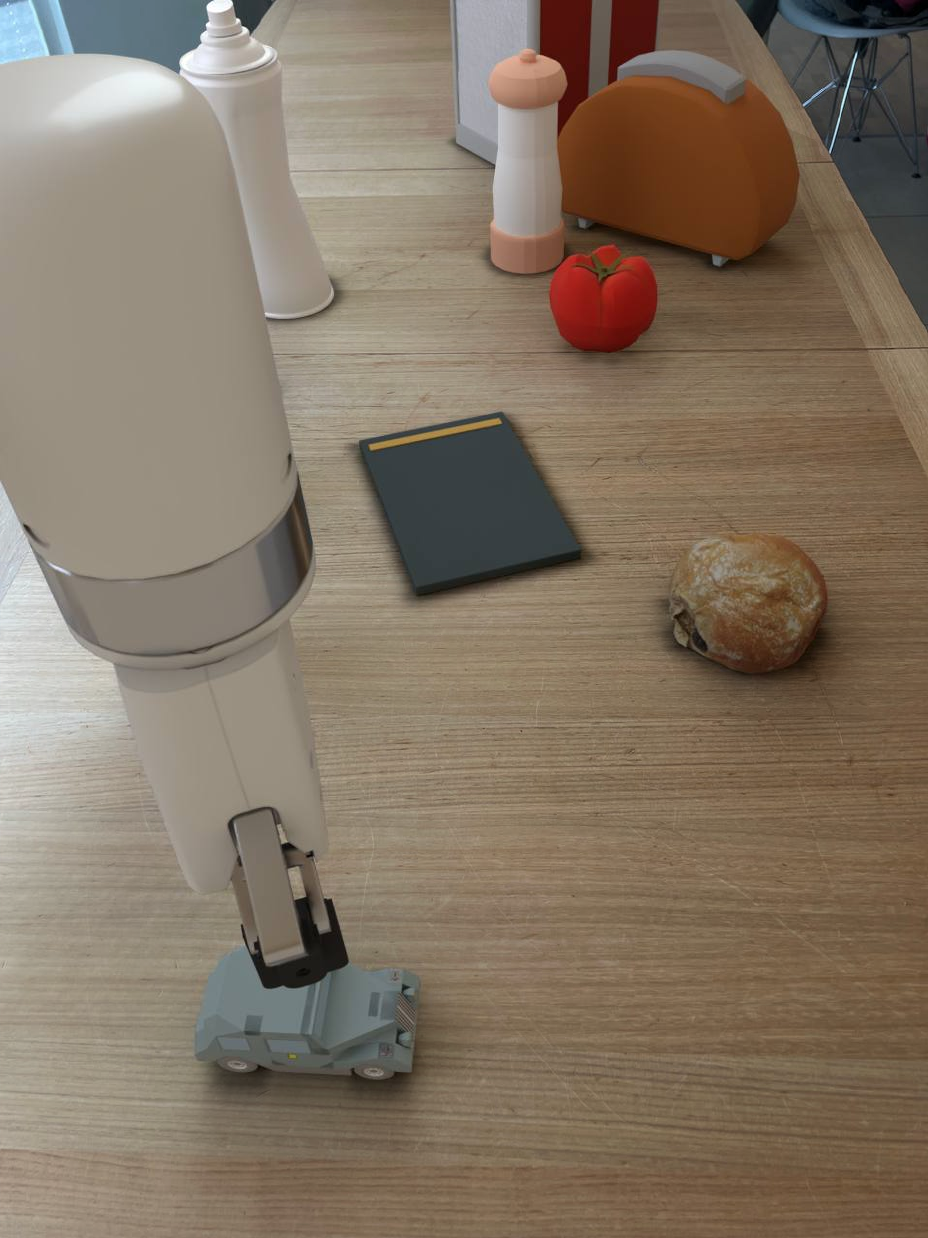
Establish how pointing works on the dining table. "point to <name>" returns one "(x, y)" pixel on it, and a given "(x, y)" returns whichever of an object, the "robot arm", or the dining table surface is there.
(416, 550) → the mat
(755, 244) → the toaster
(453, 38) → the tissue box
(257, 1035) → the toy car
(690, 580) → the bread roll
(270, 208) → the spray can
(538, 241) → the pepper shaker
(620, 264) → the tomato
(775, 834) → the dining table surface
